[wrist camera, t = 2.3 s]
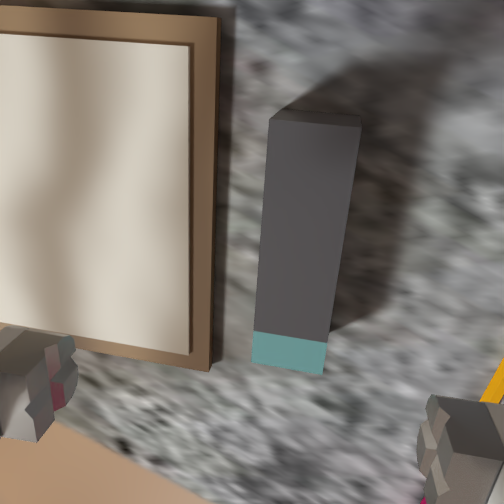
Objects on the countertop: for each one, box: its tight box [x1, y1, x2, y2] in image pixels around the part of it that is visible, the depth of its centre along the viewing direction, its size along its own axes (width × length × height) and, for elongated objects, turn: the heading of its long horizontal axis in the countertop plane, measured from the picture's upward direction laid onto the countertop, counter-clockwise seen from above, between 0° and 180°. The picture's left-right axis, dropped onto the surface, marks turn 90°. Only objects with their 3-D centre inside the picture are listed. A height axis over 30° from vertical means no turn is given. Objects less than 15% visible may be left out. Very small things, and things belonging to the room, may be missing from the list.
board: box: [0, 5, 221, 372], centre depth 20 cm, size 14×16×1 cm
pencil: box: [479, 358, 504, 404], centre depth 21 cm, size 1×19×1 cm, turn 169°
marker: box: [251, 109, 362, 375], centre depth 18 cm, size 3×10×3 cm, turn 176°
